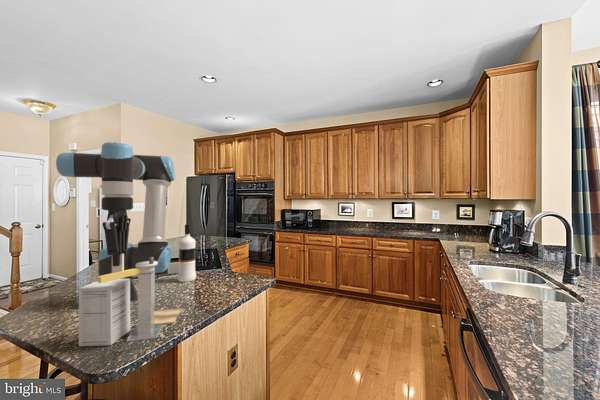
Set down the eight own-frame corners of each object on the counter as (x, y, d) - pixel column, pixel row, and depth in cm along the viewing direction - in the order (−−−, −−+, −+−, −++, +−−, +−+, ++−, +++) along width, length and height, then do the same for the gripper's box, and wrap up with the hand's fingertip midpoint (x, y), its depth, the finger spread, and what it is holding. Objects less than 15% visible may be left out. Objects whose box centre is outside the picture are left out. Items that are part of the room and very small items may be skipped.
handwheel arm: (92, 282, 70) (93, 264, 70) (149, 268, 85) (149, 254, 85) (105, 285, 67) (105, 266, 68) (161, 270, 82) (161, 255, 82)
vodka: (185, 283, 131) (185, 225, 131) (173, 281, 135) (174, 224, 136) (200, 278, 139) (200, 223, 140) (188, 276, 143) (188, 223, 144)
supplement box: (131, 330, 82) (131, 277, 83) (111, 346, 73) (111, 287, 73) (101, 330, 82) (101, 278, 82) (77, 346, 73) (77, 287, 73)
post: (136, 328, 83) (137, 270, 84) (163, 325, 85) (164, 268, 86) (126, 341, 75) (127, 277, 76) (156, 338, 77) (156, 275, 78)
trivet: (146, 312, 96) (146, 311, 96) (181, 309, 99) (181, 307, 99) (134, 327, 84) (134, 325, 84) (174, 323, 87) (174, 321, 87)
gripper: (113, 196, 80) (113, 270, 80) (91, 196, 68) (91, 284, 68) (139, 196, 82) (139, 269, 82) (123, 196, 70) (123, 282, 70)
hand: (117, 276), depth 75 cm, fingers closed
